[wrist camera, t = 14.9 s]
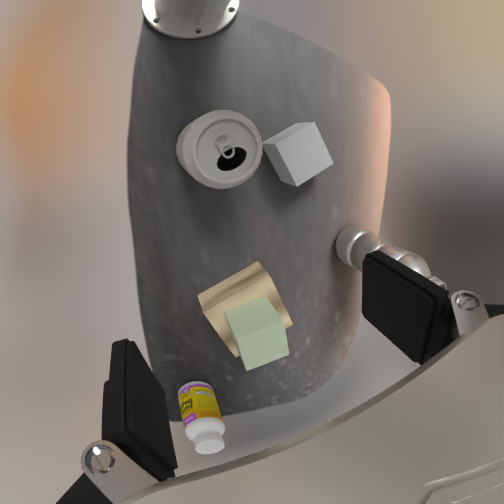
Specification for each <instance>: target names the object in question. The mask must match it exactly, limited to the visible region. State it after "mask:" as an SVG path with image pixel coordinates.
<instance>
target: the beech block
mask: <svg viewBox="0 0 504 504" xmlns="http://www.w3.org/2000/svg"><path fill="white" fill-rule="evenodd" d="M263 297H267V299H268V300H269V301H270V303H271V304H272V306H273V307H274V308H275V310H276V311H277V312H278V314H279V315H280V317H281V318H282V319H283V321H284V326H285V329H287V328H288V327H290V326H291V325H293V323H292V321H291V319H290V317H289V315H288V312H287V310H286V308H285V306H284V304H283V302H282V300H281V298H280V296H279V294H278V292H277V290H276V287H275V285H274V283H273V281H272V279H271V277H270V275H269V274H268V273H267V271H266V270H265V269H264V268H263V267H262V266H261V264H260V263H259V262H258V261H257V262H255V263H253V264H251V265H250V266H248V267H246V268H244V269H243V270H241V271H239V272H238V273H236V274H234V275H232V276H231V277H229V278H227V279H225V280H224V281H222V282H220V283H218V284H216V285H215V286H213V287H211V288H209V289H208V290H206V291H204V292H202V293H201V294H199V295H198V299H199V302H200V305H201V308H202V311H203V313H204V315H205V316H206V318H207V319H208V320H209V322H210V323H211V325H212V326H213V327H214V329H215V330H216V332H217V333H218V334H219V336H220V337H221V338H222V340H223V341H224V342H225V344H226V345H227V347H228V348H229V349H230V351H231V352H232V353H233V355H234V356H235V357H238V356H240V355H239V353H238V350H237V348H236V346H235V344H234V341H233V338H232V335H231V332H230V329H229V326H228V322H227V319H226V316H225V313H224V311H226V310H229V309H232V308H235V307H238V306H241V305H244V304H246V303H249V302H252V301H255V300H258V299H260V298H263Z"/></svg>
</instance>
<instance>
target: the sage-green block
mask: <svg viewBox="0 0 504 504" xmlns="http://www.w3.org/2000/svg"><path fill="white" fill-rule="evenodd" d="M224 313H225V316H226V319H227V322H228V326H229V329H230V332H231V335H232V338H233V341H234V344H235V346H236V348H237V350H238V353H239V355H240V357H241V359H242V362H243V364H244V366H245V368H246V370H247V371H248V370H251V369H254V368H256V367H259V366H261V365H264V364H267V363H269V362H272V361H274V360H277V359H279V358H282V357H284V356H287V355H289V349H288V344H287V338H286V332H285V326H284V321H283V319H282V318H281V317H280V315H279V314H278V312H277V311H276V310H275V308H274V307H273V306H272V304H271V303H270V301H269V300H268V299H267V297H263V298H260V299H258V300H255V301H252V302H249V303H246V304H244V305H241V306H238V307H235V308H232V309H229V310H226V311H224Z"/></svg>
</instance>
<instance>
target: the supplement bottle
mask: <svg viewBox="0 0 504 504" xmlns="http://www.w3.org/2000/svg"><path fill="white" fill-rule="evenodd" d="M178 399H179V405H180V410H181V415H182V420H183V425H184V429H185V433H186V436H187V437H188V438H189V439H190V440H192V441H194V446H195V450H196V451H197V452H198V453H201V454H213V453H216V452H219V451H220V450H222V449H223V448H224V446H225V444H224V441H223V438H222V435H223V434H224V432H225V425H224V422H223V419H222V416H221V413H220V410H219V407H218V404H217V401H216V397H215V394H214V391H213V389H212V387H211V386H210V385H209V384H207V383H205V382H201V381H193V382H189V383H186V384H185V385H183V386H182V387H181V388H180V389H179V391H178Z"/></svg>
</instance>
